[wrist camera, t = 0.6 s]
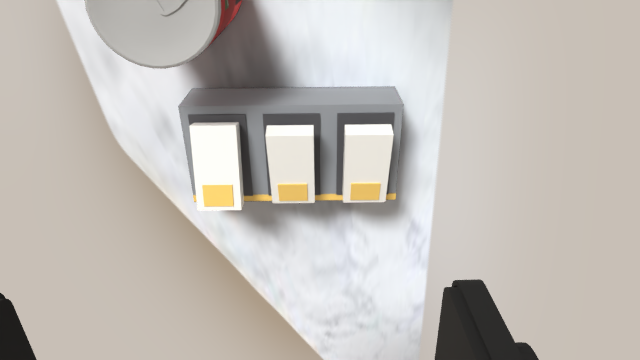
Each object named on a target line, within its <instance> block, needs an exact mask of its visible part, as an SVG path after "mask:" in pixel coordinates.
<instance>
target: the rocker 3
mask: <svg viewBox="0 0 640 360" xmlns="http://www.w3.org/2000/svg"><path fill="white" fill-rule="evenodd" d="M393 136H394V134H393V130H392V125H391V124H364V125H345V128H344V156H343V184H342V195H343V203H353V202H385V200H386V192H387V184H388V176H389V168H390V160H391V152H392V144H393Z"/></svg>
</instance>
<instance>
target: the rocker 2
mask: <svg viewBox="0 0 640 360" xmlns="http://www.w3.org/2000/svg"><path fill="white" fill-rule="evenodd" d="M265 137H266V147H267V156H268V166H269V175H270V185H271V194H272V203H315V176H314V125H267V128H266V135H265Z"/></svg>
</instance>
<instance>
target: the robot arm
mask: <svg viewBox="0 0 640 360" xmlns="http://www.w3.org/2000/svg"><path fill="white" fill-rule="evenodd" d="M0 360H36V357H35V355H34V353H33V350H32V348H31V346H30V344H29V341H28V339H27V336H26V334H25V332H24V330H23V327H22V325H21V323H20V320H19V318H18V316H17V313H16V311H15V309H14V306H13V305H12V302H11V301H10V300H9V299H6V298H5V297H4V295H3V294H1V293H0ZM435 360H539V359H538V358H537V356H536V354H535V352H534V351H533V349H532V348H531V347H530V346H529V345H528V344H527V343H522V342H521V343H515V342H514V340H513V338H512V336H511V334H510V332H509V330H508V328H507V326H506V325H505V322H504V321H503V319H502V317H501V315H500V313H499V311H498V309H497V307H496V305H495V303H494V301H493V299H492V297H491V295H490V294H489V292H488V290H487V288H486V286H485V284H484V283H483V281H482V280H455V281H453V283H452V287H446V288H445V289H444V292H443V299H442V307H441V315H440V323H439V330H438V338H437V346H436V354H435Z"/></svg>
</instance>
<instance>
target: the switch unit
mask: <svg viewBox="0 0 640 360" xmlns="http://www.w3.org/2000/svg"><path fill="white" fill-rule="evenodd" d="M178 107H179V113H180V119H181V125H182V131H183V137H184V143H185V148H186V154H187V160H188V166H189V172H190V178H191V184H192V190H193V198H194V202H197V200H196V190H195V179H194V169H193V159H192V148H191V138H190V127H189V126H190V125H191V124H193V123H217V122H239V131H240V146H241V162H242V178H243V194H244V201H272V194H271V185H270V175H269V166H268V156H267V147H266V137H265V135H266V128H267V125H314V176H315V201H335V200H343V195H342V184H343V156H344V128H345V125H364V124H391V125H392V130H393V134H394V136H393V144H392V152H391V160H390V168H389V176H388V184H387V192H386V200H395V199H396V185H397V173H398V162H399V150H400V139H401V127H402V115H403V102H402V100H401V98H400V96H399V94H398V92H397V90H396V88H395V87H298V88H197V89H192V90H191V91H190V92H189V93H188V95H187V96H186V97H185V98H184V100H183V101H182V102H181V104H180V105H179V106H178Z"/></svg>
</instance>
